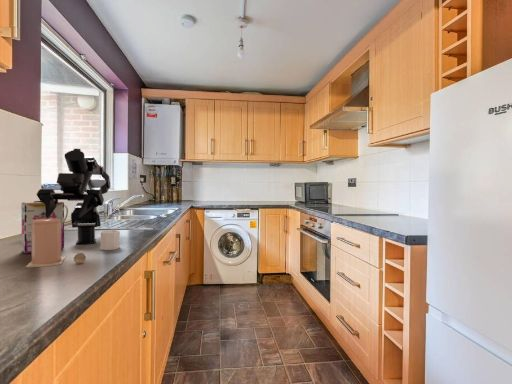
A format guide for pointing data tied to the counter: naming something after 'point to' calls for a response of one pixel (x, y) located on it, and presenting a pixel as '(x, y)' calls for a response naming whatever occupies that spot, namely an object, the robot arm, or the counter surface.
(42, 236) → the brown rounded shape
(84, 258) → the wooden ball
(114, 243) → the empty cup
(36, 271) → the counter surface
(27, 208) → the candy bar box
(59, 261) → the coaster
